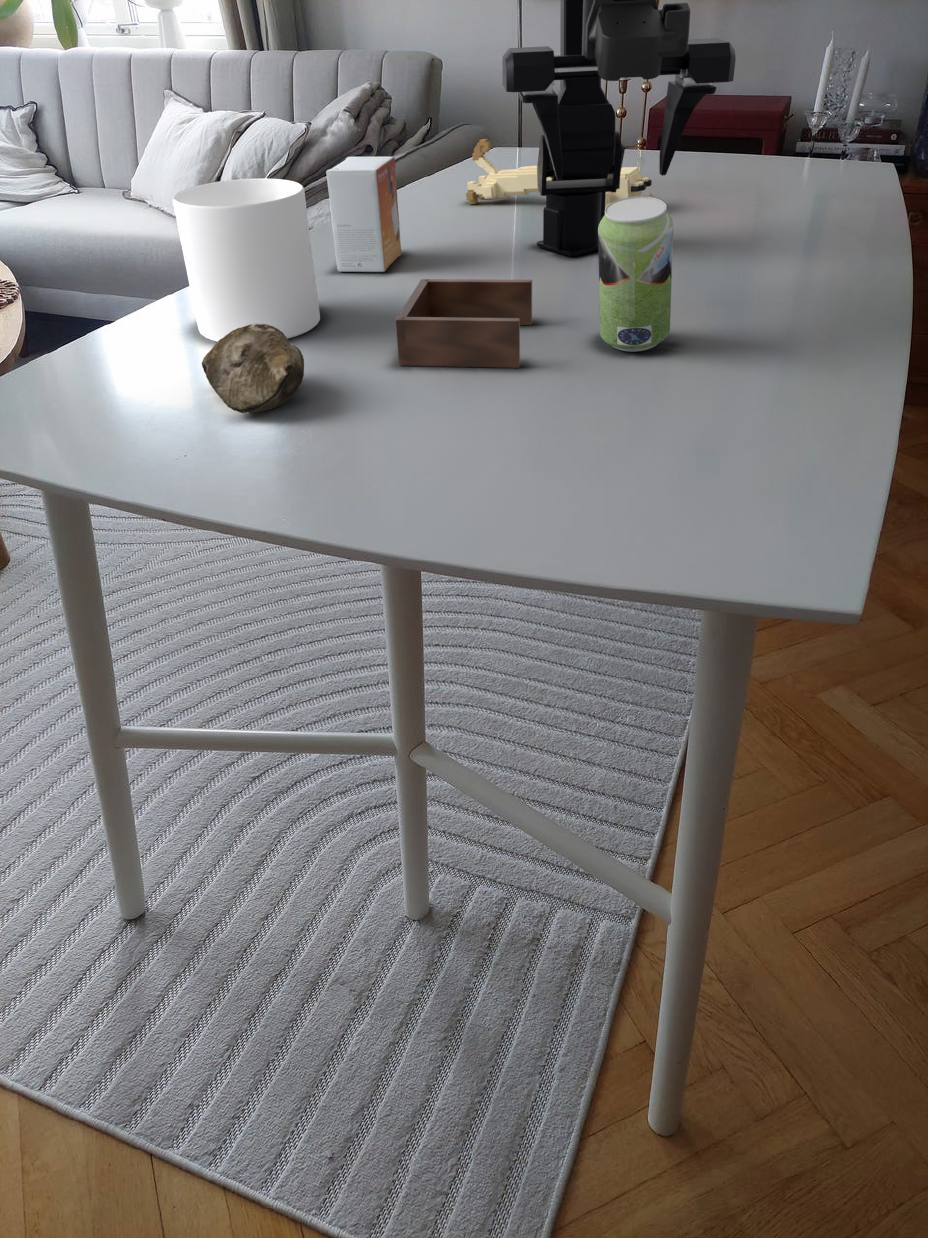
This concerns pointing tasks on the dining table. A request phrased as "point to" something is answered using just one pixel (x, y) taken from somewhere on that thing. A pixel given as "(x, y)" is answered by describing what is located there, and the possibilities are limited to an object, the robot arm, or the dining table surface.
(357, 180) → the small box
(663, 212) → the beverage can
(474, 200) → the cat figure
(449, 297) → the case
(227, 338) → the fossilized seashell
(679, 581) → the dining table surface
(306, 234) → the cup
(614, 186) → the robot arm
